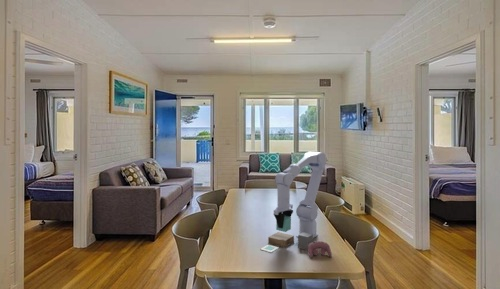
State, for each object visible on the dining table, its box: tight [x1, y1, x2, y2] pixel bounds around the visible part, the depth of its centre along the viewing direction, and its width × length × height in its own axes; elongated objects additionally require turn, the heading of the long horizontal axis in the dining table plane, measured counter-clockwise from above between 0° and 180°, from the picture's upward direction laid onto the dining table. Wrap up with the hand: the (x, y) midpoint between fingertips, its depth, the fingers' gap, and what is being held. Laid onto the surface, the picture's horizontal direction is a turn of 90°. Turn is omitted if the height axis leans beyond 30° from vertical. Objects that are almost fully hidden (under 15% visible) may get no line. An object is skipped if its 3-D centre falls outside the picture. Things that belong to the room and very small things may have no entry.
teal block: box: [275, 216, 292, 233], centre depth 147 cm, size 5×5×6 cm
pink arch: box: [307, 241, 333, 259], centre depth 135 cm, size 10×5×7 cm, turn 93°
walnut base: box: [267, 231, 295, 248], centre depth 151 cm, size 9×9×3 cm
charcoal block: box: [297, 232, 314, 251], centre depth 145 cm, size 5×5×6 cm
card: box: [259, 243, 280, 253], centre depth 143 cm, size 7×6×1 cm
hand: (283, 226), depth 148 cm, fingers closed on teal block, 5 cm apart
